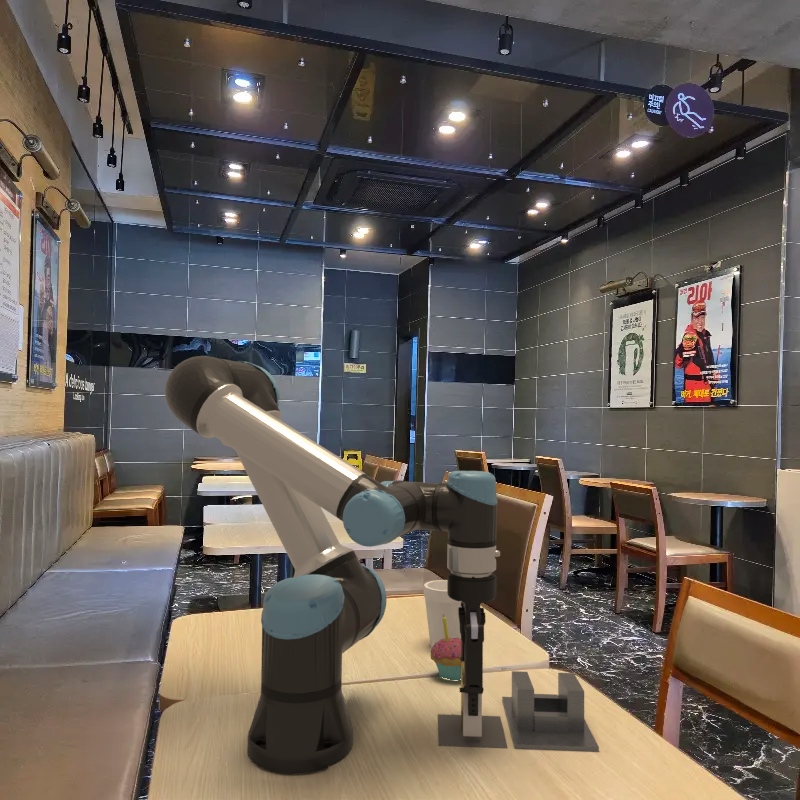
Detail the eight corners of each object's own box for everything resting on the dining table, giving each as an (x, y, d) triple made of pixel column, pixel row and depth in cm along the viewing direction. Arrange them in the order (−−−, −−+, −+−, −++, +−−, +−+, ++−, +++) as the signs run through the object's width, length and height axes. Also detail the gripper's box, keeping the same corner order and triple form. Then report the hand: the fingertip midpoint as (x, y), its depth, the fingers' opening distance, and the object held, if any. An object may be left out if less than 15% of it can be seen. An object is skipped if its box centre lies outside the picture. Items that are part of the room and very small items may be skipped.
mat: (438, 748, 92) (438, 745, 92) (437, 716, 102) (437, 714, 102) (507, 750, 91) (507, 748, 91) (500, 718, 101) (500, 716, 101)
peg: (461, 734, 95) (461, 667, 95) (460, 725, 98) (461, 659, 98) (481, 735, 95) (481, 667, 95) (479, 725, 98) (480, 660, 98)
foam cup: (468, 641, 138) (468, 581, 138) (468, 656, 128) (468, 592, 129) (424, 639, 139) (425, 579, 139) (421, 654, 129) (422, 590, 130)
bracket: (514, 751, 91) (514, 701, 91) (502, 702, 107) (502, 660, 107) (598, 754, 90) (598, 704, 91) (573, 705, 106) (573, 662, 107)
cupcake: (438, 689, 112) (439, 621, 113) (424, 671, 120) (424, 607, 121) (483, 684, 114) (483, 617, 115) (466, 667, 123) (466, 604, 123)
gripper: (503, 587, 88) (502, 757, 87) (490, 559, 107) (489, 699, 106) (449, 586, 88) (447, 755, 87) (446, 558, 107) (444, 697, 106)
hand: (470, 724), depth 96 cm, fingers open, 6 cm apart
